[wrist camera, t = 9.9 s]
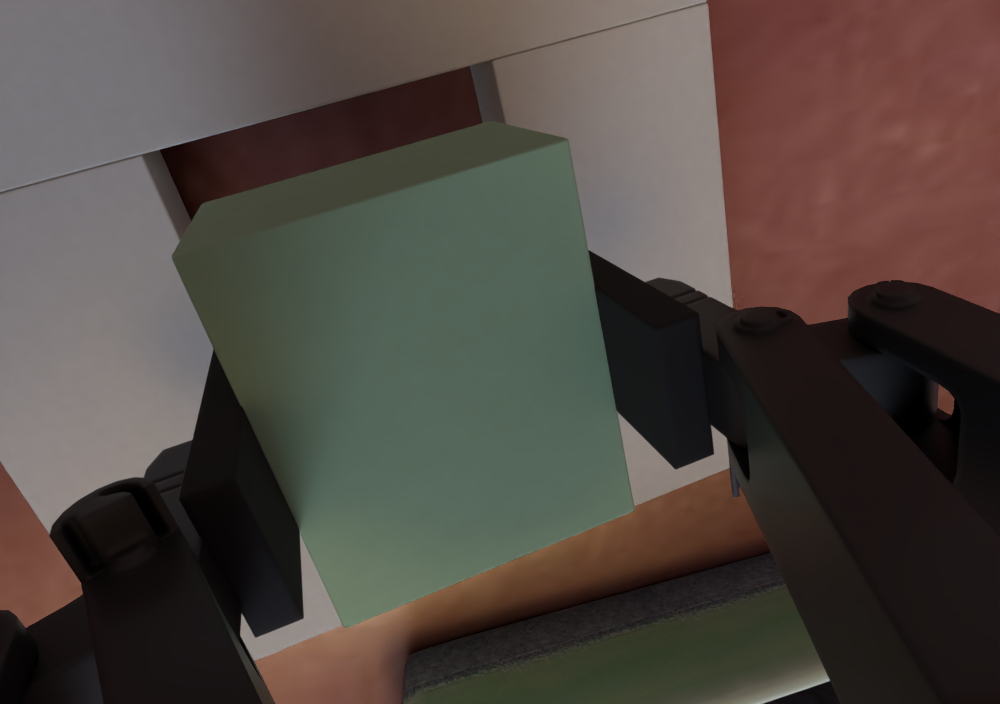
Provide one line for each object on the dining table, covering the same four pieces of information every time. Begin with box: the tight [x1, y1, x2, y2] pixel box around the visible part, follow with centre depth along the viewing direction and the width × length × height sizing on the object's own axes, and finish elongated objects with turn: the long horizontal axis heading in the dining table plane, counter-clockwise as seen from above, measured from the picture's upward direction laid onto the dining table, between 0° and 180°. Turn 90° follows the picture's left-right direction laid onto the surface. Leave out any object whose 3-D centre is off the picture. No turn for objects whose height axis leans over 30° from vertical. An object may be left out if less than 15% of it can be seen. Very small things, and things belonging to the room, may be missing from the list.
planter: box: [402, 553, 840, 704], centre depth 29 cm, size 28×7×7 cm, turn 93°
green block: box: [172, 121, 635, 628], centre depth 14 cm, size 8×6×4 cm
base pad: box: [0, 0, 733, 661], centre depth 20 cm, size 22×22×2 cm
